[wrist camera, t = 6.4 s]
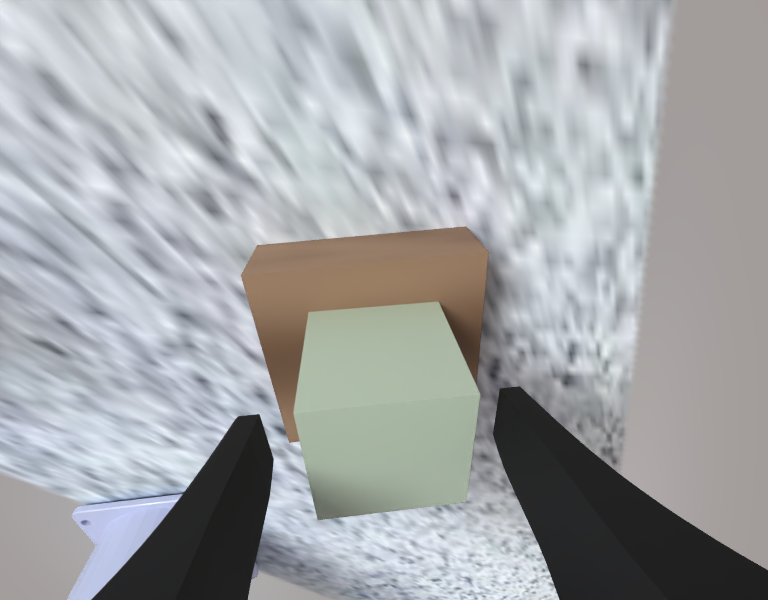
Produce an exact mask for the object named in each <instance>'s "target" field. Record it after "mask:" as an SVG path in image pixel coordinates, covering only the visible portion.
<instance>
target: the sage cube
mask: <svg viewBox="0 0 768 600" xmlns="http://www.w3.org/2000/svg"><path fill="white" fill-rule="evenodd" d="M479 401H480V392H479V390H478V388H477V386H476V384H475V381H474V379H473V377H472V375H471V372H470V370H469V368H468V366H467V364H466V361H465V359H464V357H463V355H462V353H461V350H460V348H459V346H458V344H457V341H456V339H455V337H454V335H453V333H452V330H451V328H450V326H449V324H448V321H447V319H446V317H445V315H444V313H443V310H442V308H441V306H440V304H439V302H427V303H415V304H402V305H390V306H378V307H365V308H353V309H340V310H328V311H316V312H309V313H308V319H307V326H306V332H305V339H304V346H303V352H302V359H301V365H300V372H299V379H298V385H297V392H296V399H295V405H294V412H293V414H294V419H295V423H296V427H297V432H298V436H299V440H300V445H301V449H302V453H303V458H304V462H305V466H306V471H307V475H308V480H309V484H310V488H311V493H312V497H313V501H314V506H315V510H316V514H317V519H318V520H323V519H331V518H339V517H348V516H356V515H364V514H373V513H381V512H389V511H398V510H406V509H414V508H422V507H431V506H439V505H447V504H456V503H464V502H466V499H467V492H468V484H469V477H470V469H471V462H472V454H473V447H474V439H475V431H476V424H477V416H478V409H479Z"/></svg>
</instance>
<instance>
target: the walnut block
mask: <svg viewBox="0 0 768 600" xmlns="http://www.w3.org/2000/svg"><path fill="white" fill-rule="evenodd" d="M488 253H489V252H488V251H487V250H486V249H485V247H484V246H483V245H482V244H481V243H480V242H479V241H478V239H477V238H476V237H475V236H474V235H473V234H472V233H471V232H470V230H469V229H468V228H467V227H455V228H444V229H433V230H422V231H411V232H400V233H388V234H377V235H366V236H355V237H344V238H333V239H322V240H311V241H300V242H289V243H278V244H266V245H257V247H256V249H255V251H254V252H253V254H252V256H251V258H250V260H249V262H248V263H247V265H246V267H245V269H244V271H243V272H242V274H241V277H242V281H243V284H244V288H245V291H246V295H247V298H248V301H249V305H250V308H251V312H252V315H253V319H254V322H255V326H256V329H257V333H258V336H259V340H260V343H261V346H262V350H263V353H264V357H265V360H266V364H267V367H268V371H269V374H270V378H271V381H272V385H273V388H274V392H275V395H276V398H277V402H278V405H279V409H280V412H281V416H282V419H283V423H284V426H285V430H286V433H287V437H288V440H289V443H290V442H299V441H300V440H299V436H298V432H297V427H296V423H295V419H294V414H293V412H294V405H295V399H296V392H297V385H298V379H299V372H300V365H301V359H302V352H303V346H304V339H305V332H306V326H307V319H308V313H309V312H316V311H328V310H340V309H353V308H365V307H378V306H390V305H402V304H415V303H427V302H439V304H440V306H441V308H442V310H443V313H444V315H445V317H446V319H447V321H448V324H449V326H450V328H451V330H452V333H453V335H454V337H455V339H456V341H457V344H458V346H459V348H460V350H461V353H462V355H463V357H464V359H465V361H466V364H467V366H468V368H469V370H470V372H471V375H472V377H473V379H474V381H475V384H476V381H477V371H478V360H479V349H480V338H481V328H482V317H483V306H484V295H485V285H486V274H487V263H488Z"/></svg>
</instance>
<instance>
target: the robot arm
mask: <svg viewBox="0 0 768 600" xmlns="http://www.w3.org/2000/svg"><path fill="white" fill-rule="evenodd" d="M493 436H494V439H495V442H496V445H497V449H498V452H499V455H500V458H501V461H502V464H503V467H504V469H505V471H506V474H507V476H508V478H509V480H510V483H511V485H512V487H513V489H514V491H515V494H516V496H517V498H518V500H519V502H520V505H521V507H522V509H523V511H524V513H525V516H526V518H527V520H528V522H529V524H530V526H531V529H532V531H533V533H534V535H535V537H536V540H537V542H538V544H539V546H540V549H541V551H542V553H543V556H544V558H545V561H546V563H547V566H548V569H549V572H550V574H551V577H552V580H553V583H554V585H555V588H556V591H557V594H558V597H559V599H560V600H768V570H766V569H765V568H763V567H761V566H759V565H758V564H756V563H754V562H753V561H751V560H749V559H747V558H746V557H744V556H742V555H740V554H739V553H737V552H735V551H733V550H732V549H730V548H729V547H727V546H725V545H724V544H722V543H720V542H719V541H717V540H715V539H714V538H712V537H711V536H709V535H708V534H706V533H704V532H703V531H701V530H699V529H698V528H696V527H695V526H693V525H692V524H690V523H689V522H687V521H685V520H684V519H682V518H681V517H679V516H678V515H676V514H675V513H673V512H672V511H670V510H669V509H667V508H666V507H664V506H663V505H661V504H660V503H659V502H657V501H656V500H654V499H653V498H651V497H650V496H649V495H647V494H646V493H644V492H643V491H642V490H640V489H639V488H638V487H636V486H635V485H633V484H632V483H631V482H629V481H628V480H627V479H625V478H624V477H623V476H621V475H620V474H619V473H617V472H616V471H615V470H614V469H612V468H611V467H610V466H609V465H607V464H606V463H605V462H604V461H602V460H601V459H600V458H599V457H598V456H596V455H595V454H594V453H593V452H592V451H590V450H589V449H588V448H587V447H586V446H584V445H583V444H582V443H581V442H580V441H579V440H578V439H576V438H575V437H574V436H573V435H572V434H571V433H570V432H568V431H567V430H566V429H565V428H564V427H563V426H562V425H561V424H560V423H558V422H557V421H556V420H555V419H554V418H553V417H552V416H551V415H550V414H549V413H548V412H546V411H545V410H544V409H543V408H542V407H541V406H540V405H539V404H538V403H537V402H536V401H535V400H534V399H533V398H532V397H530V396H529V395H528V394H527V393H526V392H525V391H524V390H523V389H522V388H521V387H510V388H501V389H500V392H499V398H498V405H497V411H496V418H495V425H494V431H493ZM273 460H274V459H273V456H272V453H271V449H270V446H269V443H268V440H267V437H266V434H265V430H264V427H263V424H262V421H261V418H260V415H259V414H257V415H247V416H238V417H237V418H236V419H235V421H234V422H233V424H232V425H231V427H230V428H229V430H228V431H227V433H226V434H225V436H224V437H223V439H222V440H221V442H220V443H219V445H218V446H217V447H216V449H215V450H214V452H213V453H212V455H211V456H210V458H209V459H208V460H207V462H206V463H205V465H204V466H203V467H202V469H201V470H200V472H199V473H198V474H197V476H196V477H195V478H194V480H193V481H192V482H191V484H190V485H189V487H188V488H187V489H186V491H185V492H184V493H183V494H178V495H170V496H161V497H153V498H144V499H136V500H127V501H119V502H110V503H102V504H93V505H85V506H79V507H77V508H76V509H75V511H74V512H73V514H72V518H73V519H74V521H75V522H76V523H77V524H78V525H79V526H80V527H81V529H82V530H83V531H84V532H85V533H86V534H87V535H88V537H89V538H90V539H91V540H92V541H93V542H94V544H95V545H96V547H95V548H94V550H93V552H92V554H91V556H90V557H89V559H88V562H87V563H86V565H85V567H84V569H83V570H82V572H81V574H80V576H79V578H78V580H77V581H76V583H75V585H74V587H73V589H72V591H71V592H70V594H69V596H68V598H67V600H248V594H249V588H250V583H251V579H252V578H255V577H256V576H257V575H258V567H257V565H256V562H255V561H256V556H257V552H258V547H259V543H260V538H261V534H262V529H263V525H264V520H265V515H266V511H267V506H268V501H269V497H270V489H271V481H272V471H273Z"/></svg>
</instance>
